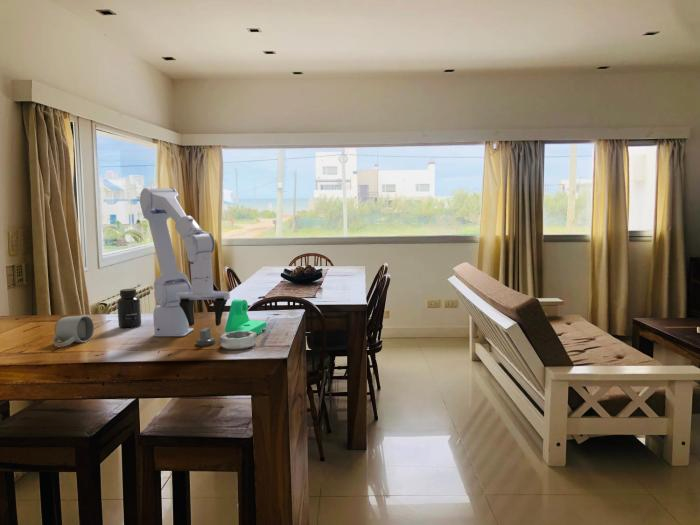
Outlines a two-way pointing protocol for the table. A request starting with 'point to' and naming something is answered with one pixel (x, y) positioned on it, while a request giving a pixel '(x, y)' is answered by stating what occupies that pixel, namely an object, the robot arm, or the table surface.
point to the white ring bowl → (238, 340)
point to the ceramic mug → (73, 330)
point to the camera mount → (242, 319)
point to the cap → (205, 338)
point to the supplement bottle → (129, 309)
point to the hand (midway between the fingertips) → (204, 325)
